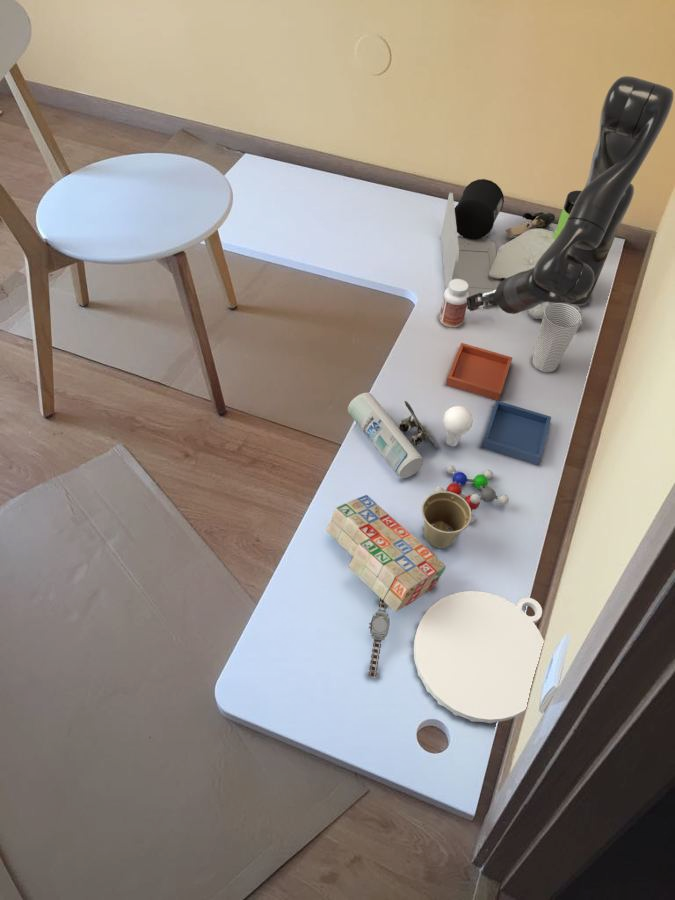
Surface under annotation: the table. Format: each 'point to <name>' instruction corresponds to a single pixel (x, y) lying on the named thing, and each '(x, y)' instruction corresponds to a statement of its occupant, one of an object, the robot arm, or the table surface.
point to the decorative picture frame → (410, 424)
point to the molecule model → (479, 483)
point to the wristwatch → (378, 634)
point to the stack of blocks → (384, 553)
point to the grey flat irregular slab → (521, 253)
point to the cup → (555, 335)
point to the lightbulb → (457, 423)
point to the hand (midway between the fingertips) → (488, 305)
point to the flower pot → (444, 518)
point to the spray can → (385, 435)
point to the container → (478, 209)
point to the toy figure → (531, 223)
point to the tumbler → (566, 211)
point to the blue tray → (516, 432)
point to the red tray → (479, 371)
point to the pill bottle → (454, 303)
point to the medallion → (479, 654)
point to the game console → (467, 256)
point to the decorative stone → (539, 310)
